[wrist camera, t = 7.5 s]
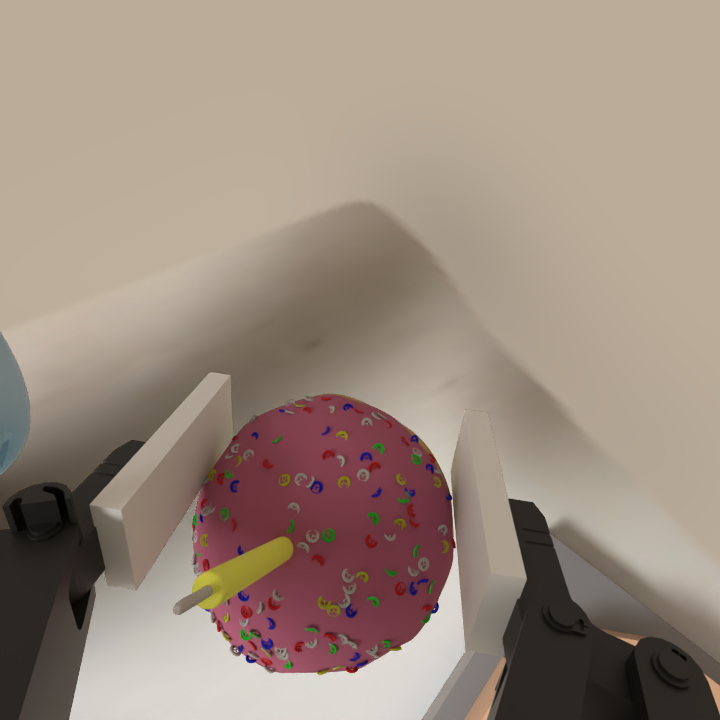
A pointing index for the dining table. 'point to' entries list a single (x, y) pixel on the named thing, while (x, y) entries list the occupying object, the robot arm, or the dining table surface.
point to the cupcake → (321, 537)
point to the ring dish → (605, 611)
